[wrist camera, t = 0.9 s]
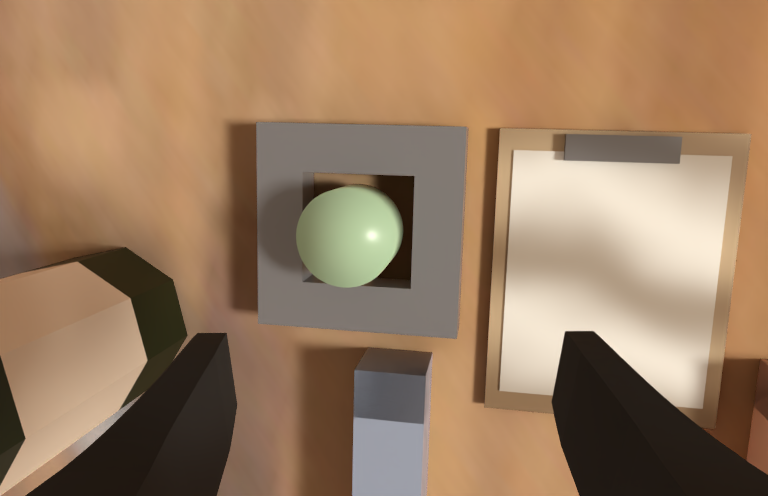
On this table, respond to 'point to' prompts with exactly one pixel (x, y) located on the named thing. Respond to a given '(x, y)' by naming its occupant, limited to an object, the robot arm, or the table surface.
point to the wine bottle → (78, 350)
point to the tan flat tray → (614, 259)
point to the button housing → (430, 226)
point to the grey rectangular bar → (391, 423)
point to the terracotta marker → (760, 422)
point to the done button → (349, 235)
